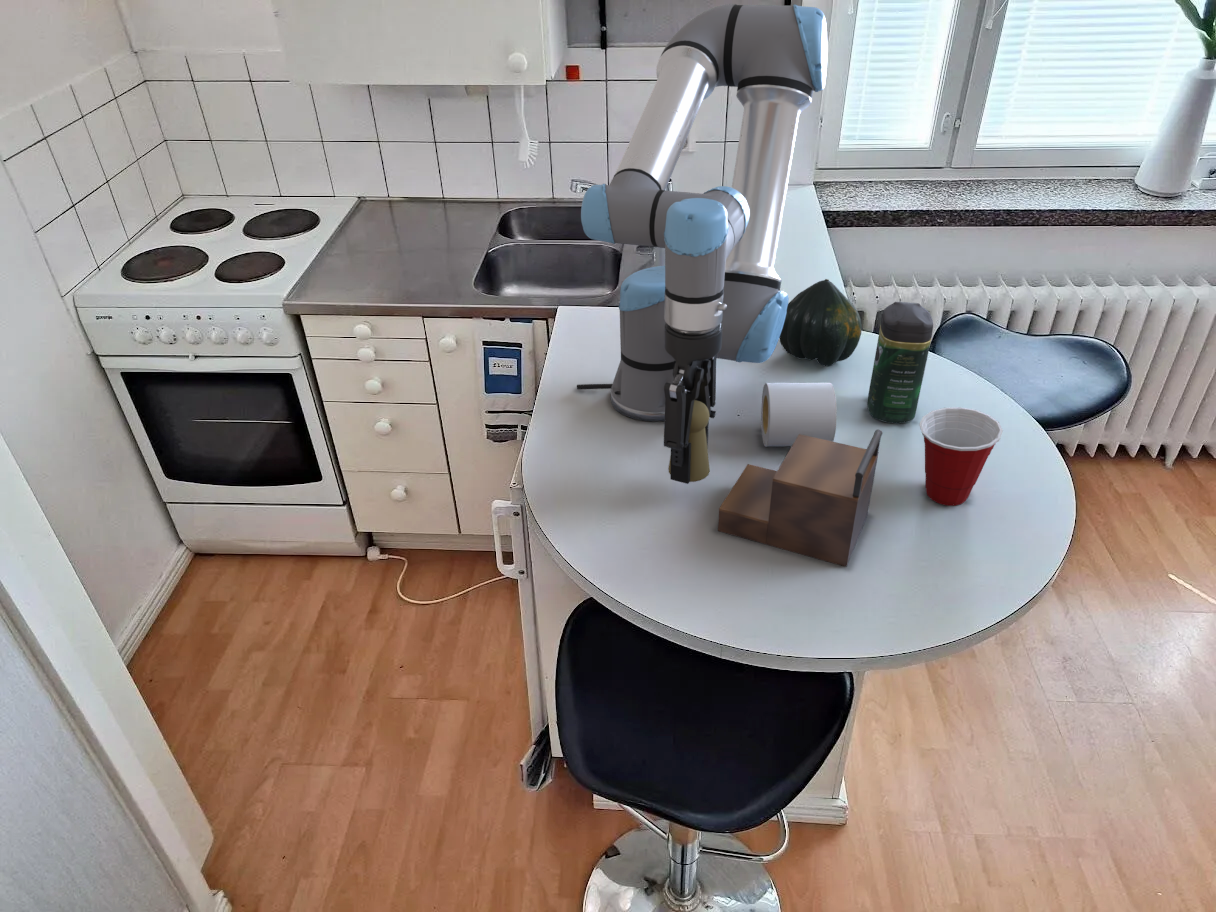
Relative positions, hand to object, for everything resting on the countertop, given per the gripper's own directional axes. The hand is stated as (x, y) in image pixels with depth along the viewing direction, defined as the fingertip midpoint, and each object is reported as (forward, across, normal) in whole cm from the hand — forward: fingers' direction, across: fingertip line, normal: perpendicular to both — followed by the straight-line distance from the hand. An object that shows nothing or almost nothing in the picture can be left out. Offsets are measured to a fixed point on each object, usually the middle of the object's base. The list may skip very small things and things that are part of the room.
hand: (689, 467), depth 126 cm
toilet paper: (+5, +20, -10) cm, 23 cm away
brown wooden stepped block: (+5, 0, -16) cm, 17 cm away
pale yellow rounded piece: (+1, 0, 0) cm, 1 cm away
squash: (+6, +52, -5) cm, 52 cm away
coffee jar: (+6, +36, -22) cm, 43 cm away
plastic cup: (+5, +16, -34) cm, 38 cm away
